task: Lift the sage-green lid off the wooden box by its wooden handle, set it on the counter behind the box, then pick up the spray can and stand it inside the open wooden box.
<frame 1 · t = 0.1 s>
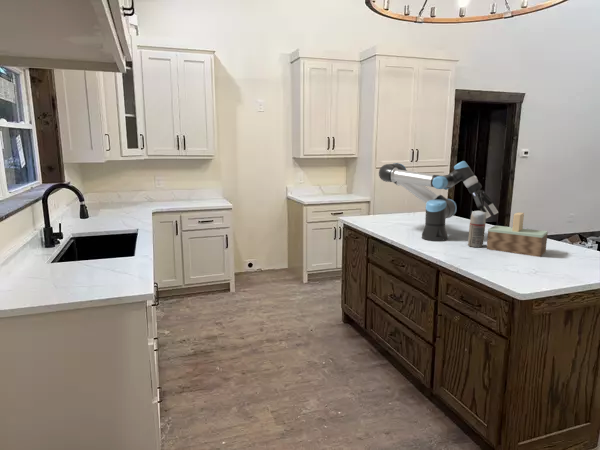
hand: (492, 215, 241), 15 cm above the counter, tool tilted 35°, fingers open, 13 cm apart
spray can: (475, 246, 233), on the counter
lid: (517, 232, 220), point 10 cm above the counter, touching wooden box
wooden box: (515, 250, 222), on the counter
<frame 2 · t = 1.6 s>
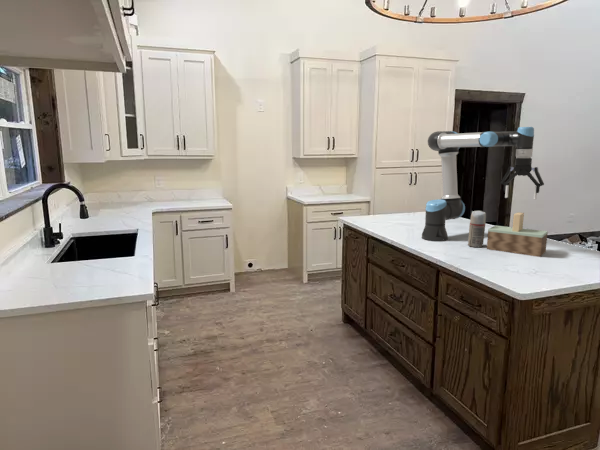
hand: (520, 198, 217), 28 cm above the counter, tool pointing down, fingers open, 13 cm apart
nothing on the counter moved.
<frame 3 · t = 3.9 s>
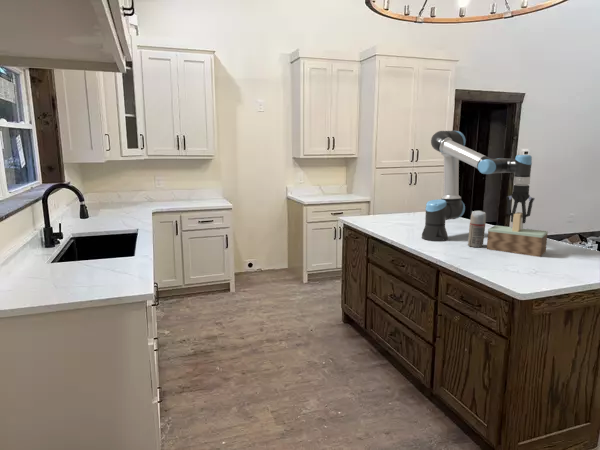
hand: (517, 228, 220), 12 cm above the counter, tool pointing down, fingers closed on lid, 3 cm apart
lid: (517, 232, 220), point 10 cm above the counter, touching gripper
everything else where it was.
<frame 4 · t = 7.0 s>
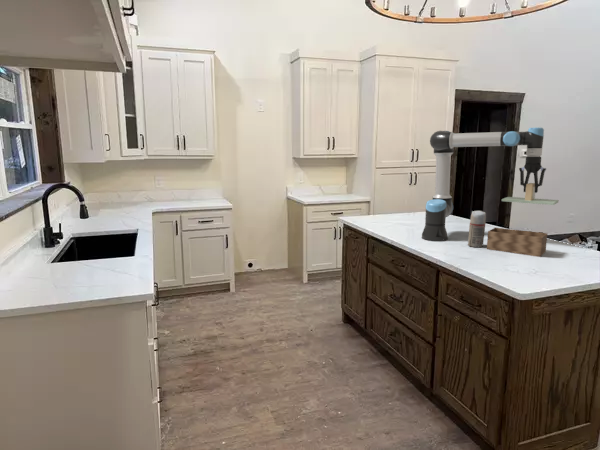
hand: (529, 198, 232), 26 cm above the counter, tool pointing down, fingers closed on lid, 3 cm apart
lid: (529, 201, 233), point 24 cm above the counter, touching gripper
everything else where it was.
when the fingers open (4 cm above the counter, at t = 10.5 s): lid drops 2 cm, on the counter.
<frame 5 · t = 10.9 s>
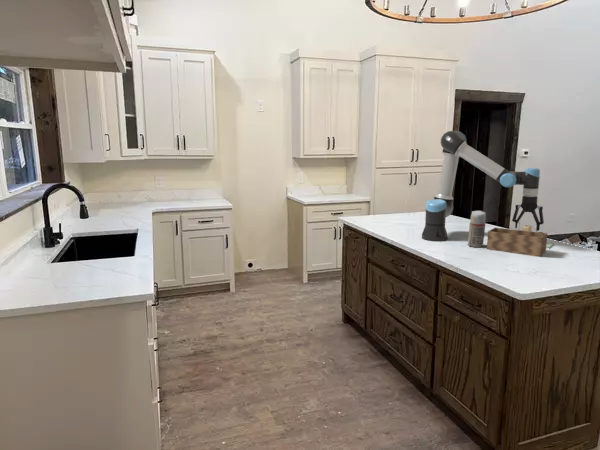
hand: (526, 234, 237), 5 cm above the counter, tool pointing down, fingers open, 8 cm apart
lid: (525, 243, 238), on the counter
everything else where it was.
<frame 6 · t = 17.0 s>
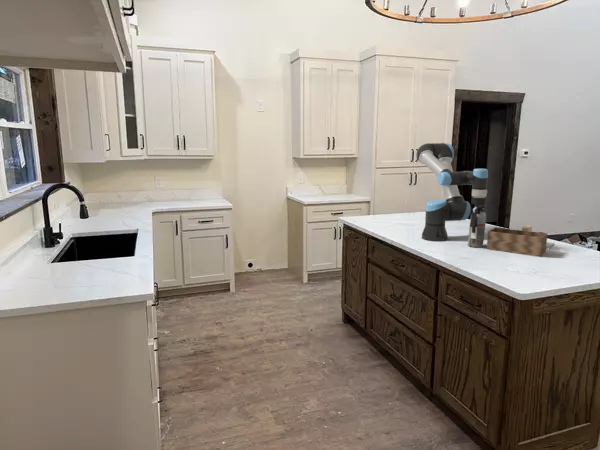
hand: (476, 236, 232), 5 cm above the counter, tool pointing down, fingers closed on spray can, 8 cm apart
spray can: (475, 246, 233), on the counter, touching gripper
everything else where it was.
when the fingers open (8 cm above the counter, at t = 24.8 s): spray can drops 1 cm, resting on wooden box.
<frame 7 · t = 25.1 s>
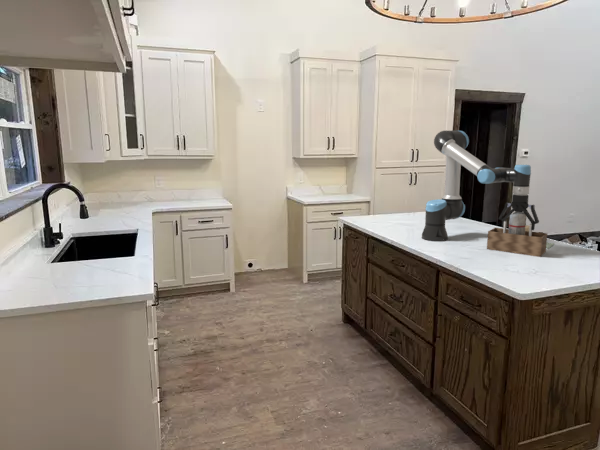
hand: (517, 234, 220), 9 cm above the counter, tool pointing down, fingers open, 12 cm apart
spray can: (515, 248, 222), point 1 cm above the counter, touching wooden box
everything else where it was.
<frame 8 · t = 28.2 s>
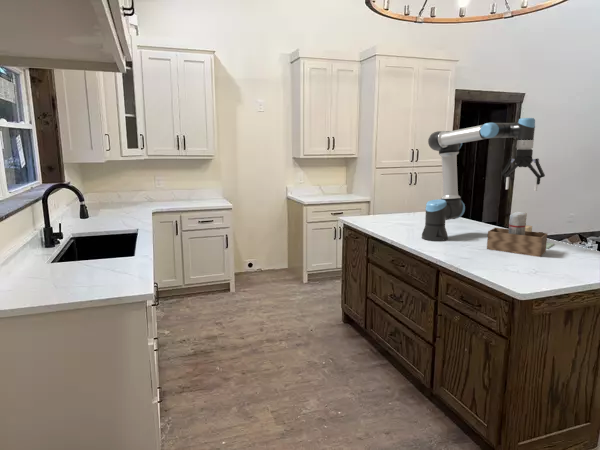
hand: (520, 190, 216), 33 cm above the counter, tool pointing down, fingers open, 13 cm apart
nothing on the counter moved.
at the end: lid inside the target area (0.1 cm from its centre), on the counter; spray can inside the target area on the wooden box (0.2 cm from its centre), point 0.8 cm above the wooden box's base; spray can tilted 0° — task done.
